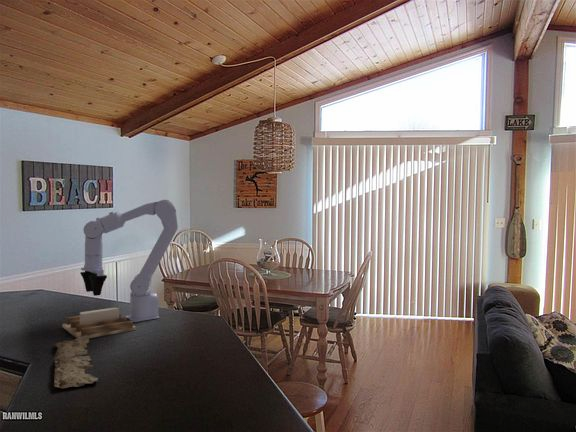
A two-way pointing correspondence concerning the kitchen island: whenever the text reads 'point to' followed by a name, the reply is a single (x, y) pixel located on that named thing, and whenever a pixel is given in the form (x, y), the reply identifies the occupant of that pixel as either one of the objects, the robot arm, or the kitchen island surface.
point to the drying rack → (97, 327)
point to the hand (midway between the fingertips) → (93, 293)
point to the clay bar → (99, 315)
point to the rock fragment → (72, 364)
